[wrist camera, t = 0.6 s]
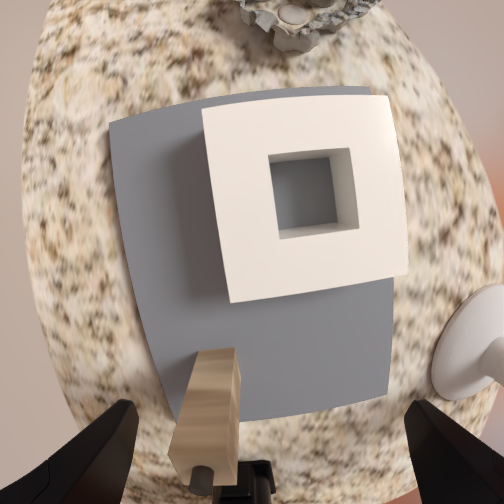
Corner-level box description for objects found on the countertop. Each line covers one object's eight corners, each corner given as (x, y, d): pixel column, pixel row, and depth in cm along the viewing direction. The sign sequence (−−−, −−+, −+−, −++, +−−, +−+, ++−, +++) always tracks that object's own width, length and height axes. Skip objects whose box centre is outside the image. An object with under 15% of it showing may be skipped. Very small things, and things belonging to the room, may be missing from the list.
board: (382, 388, 22) (387, 394, 21) (178, 417, 22) (176, 424, 21) (364, 91, 18) (369, 86, 17) (114, 125, 18) (108, 122, 17)
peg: (240, 376, 20) (236, 503, 9) (206, 379, 20) (180, 502, 9) (234, 346, 20) (224, 474, 9) (198, 350, 20) (161, 473, 9)
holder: (380, 259, 19) (408, 273, 15) (234, 281, 19) (230, 303, 15) (362, 113, 17) (387, 95, 13) (211, 126, 17) (201, 108, 13)
